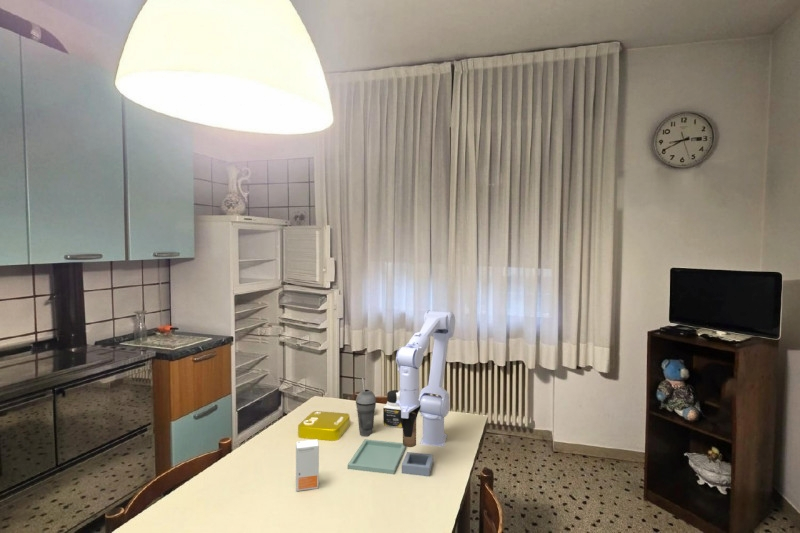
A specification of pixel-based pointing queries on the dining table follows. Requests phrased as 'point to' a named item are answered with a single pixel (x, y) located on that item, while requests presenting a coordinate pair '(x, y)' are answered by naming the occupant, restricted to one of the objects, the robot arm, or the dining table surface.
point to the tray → (377, 456)
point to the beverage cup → (365, 411)
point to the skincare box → (307, 465)
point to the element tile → (324, 426)
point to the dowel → (410, 440)
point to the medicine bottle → (392, 410)
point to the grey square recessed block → (417, 464)
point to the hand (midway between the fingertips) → (409, 433)
